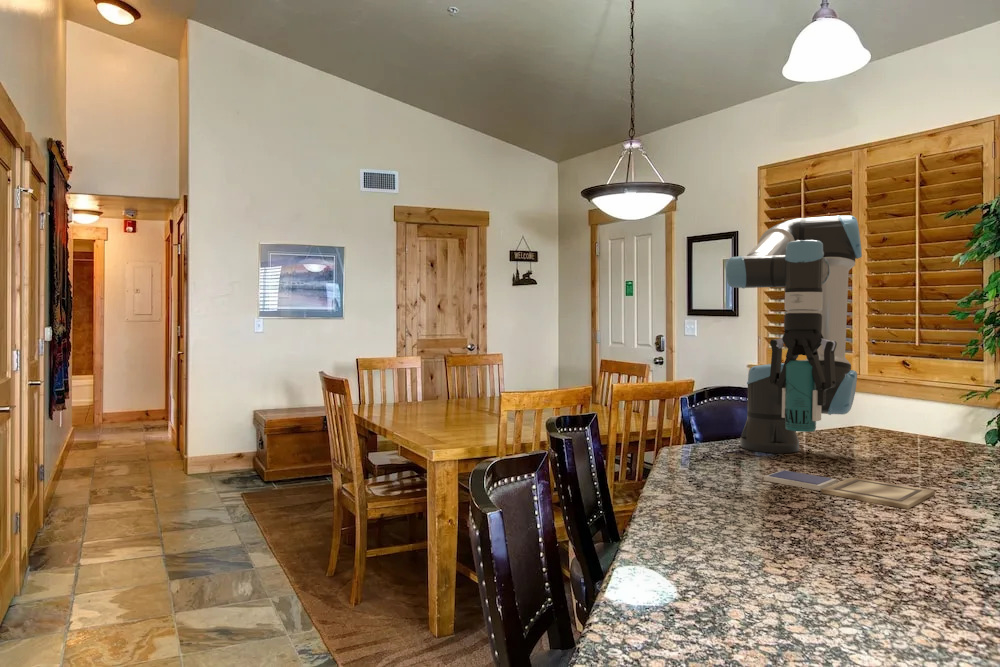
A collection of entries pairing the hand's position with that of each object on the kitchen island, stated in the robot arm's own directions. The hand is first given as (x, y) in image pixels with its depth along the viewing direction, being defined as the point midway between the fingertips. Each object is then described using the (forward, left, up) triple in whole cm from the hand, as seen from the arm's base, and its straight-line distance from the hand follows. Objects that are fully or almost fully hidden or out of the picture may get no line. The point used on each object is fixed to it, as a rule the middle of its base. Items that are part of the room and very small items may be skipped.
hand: (801, 418), depth 152 cm
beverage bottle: (0, 0, -4) cm, 4 cm away
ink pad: (0, 0, -14) cm, 14 cm away
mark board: (+15, +2, -14) cm, 21 cm away
